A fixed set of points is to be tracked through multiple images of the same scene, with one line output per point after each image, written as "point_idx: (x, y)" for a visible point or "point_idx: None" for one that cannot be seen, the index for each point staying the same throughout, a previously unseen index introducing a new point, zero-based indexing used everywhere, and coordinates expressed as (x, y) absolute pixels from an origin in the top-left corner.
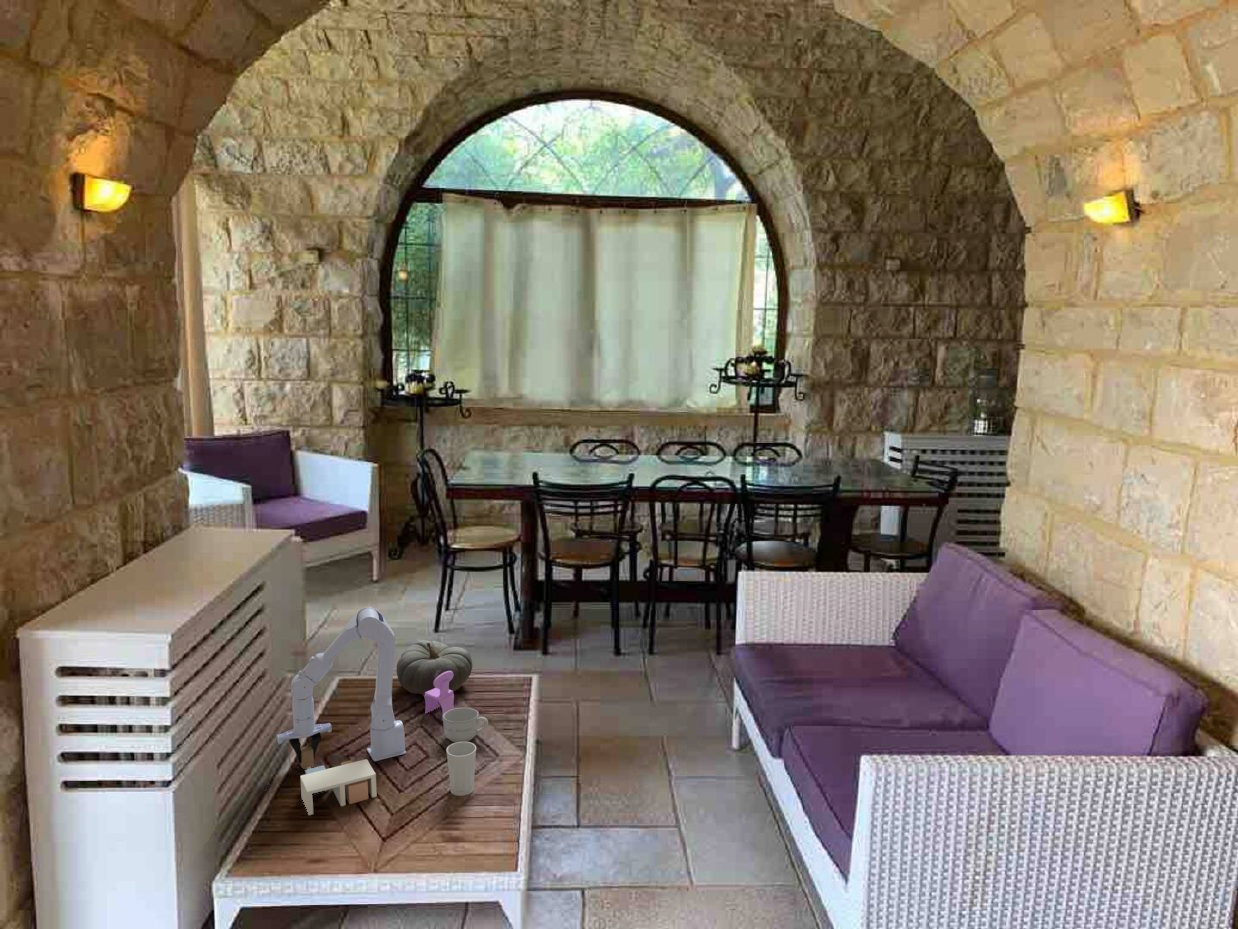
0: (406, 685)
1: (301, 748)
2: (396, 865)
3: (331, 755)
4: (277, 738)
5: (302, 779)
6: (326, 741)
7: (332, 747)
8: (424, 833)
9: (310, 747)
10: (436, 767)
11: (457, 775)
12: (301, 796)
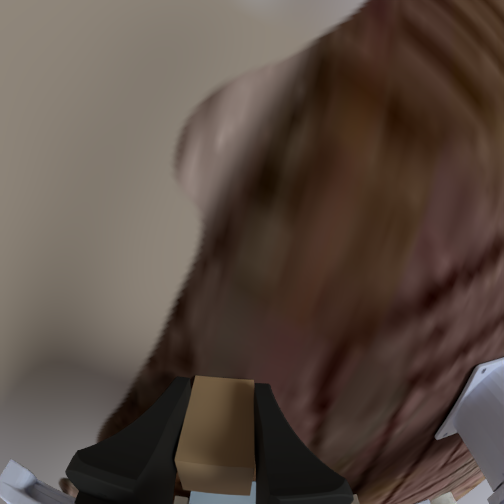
0: None
1: (184, 467)
2: None
3: (369, 351)
4: (7, 484)
5: None
6: (414, 170)
7: (413, 268)
8: None
9: (243, 480)
10: (472, 460)
11: None
12: (174, 500)
